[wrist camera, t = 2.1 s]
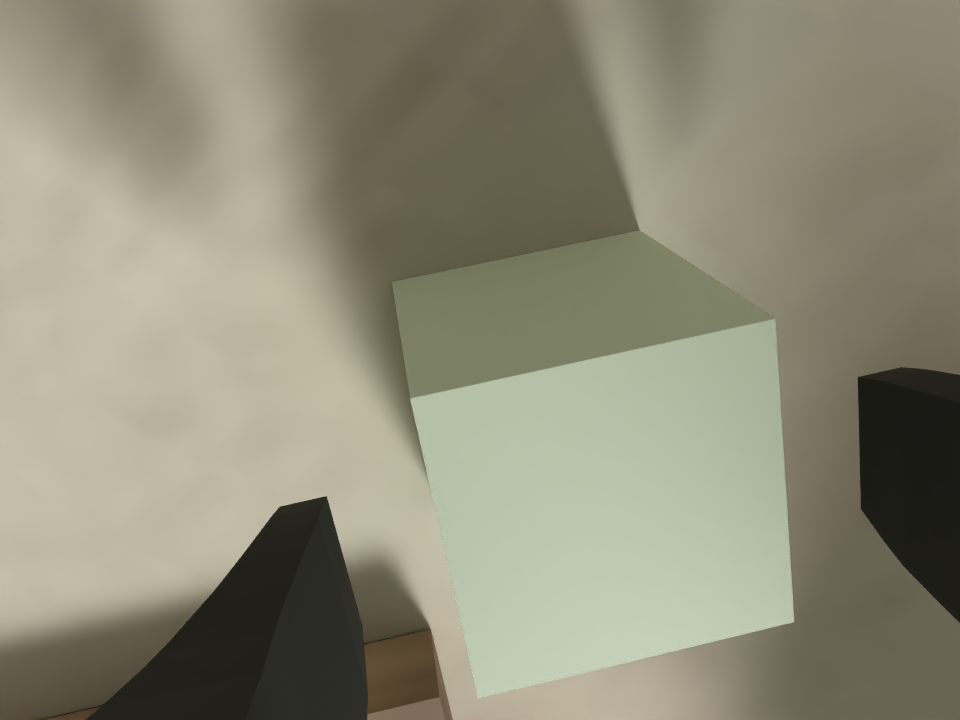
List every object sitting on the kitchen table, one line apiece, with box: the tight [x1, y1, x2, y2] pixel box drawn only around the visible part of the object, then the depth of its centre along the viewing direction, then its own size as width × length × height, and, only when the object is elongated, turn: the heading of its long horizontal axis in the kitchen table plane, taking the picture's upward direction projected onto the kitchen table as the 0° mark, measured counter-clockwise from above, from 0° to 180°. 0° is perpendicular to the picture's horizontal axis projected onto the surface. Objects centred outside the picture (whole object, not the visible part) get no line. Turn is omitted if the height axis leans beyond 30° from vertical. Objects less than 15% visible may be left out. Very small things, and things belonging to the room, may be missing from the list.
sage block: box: [392, 230, 794, 698], centre depth 14 cm, size 4×4×6 cm
